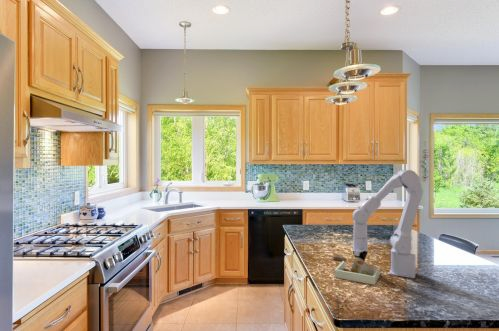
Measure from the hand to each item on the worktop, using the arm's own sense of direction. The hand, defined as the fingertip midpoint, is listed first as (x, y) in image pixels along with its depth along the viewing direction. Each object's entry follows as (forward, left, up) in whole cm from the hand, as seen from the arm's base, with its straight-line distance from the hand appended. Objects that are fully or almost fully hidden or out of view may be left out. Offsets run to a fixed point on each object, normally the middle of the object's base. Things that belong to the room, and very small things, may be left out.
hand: (360, 268), depth 129 cm
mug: (-2, +4, -1) cm, 5 cm away
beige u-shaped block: (0, +6, -1) cm, 6 cm away
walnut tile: (+13, -12, -2) cm, 17 cm away
